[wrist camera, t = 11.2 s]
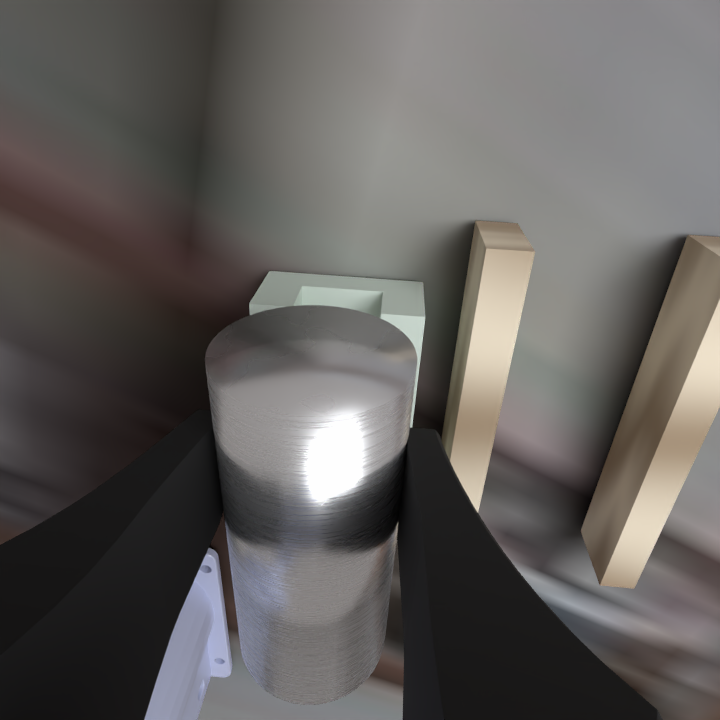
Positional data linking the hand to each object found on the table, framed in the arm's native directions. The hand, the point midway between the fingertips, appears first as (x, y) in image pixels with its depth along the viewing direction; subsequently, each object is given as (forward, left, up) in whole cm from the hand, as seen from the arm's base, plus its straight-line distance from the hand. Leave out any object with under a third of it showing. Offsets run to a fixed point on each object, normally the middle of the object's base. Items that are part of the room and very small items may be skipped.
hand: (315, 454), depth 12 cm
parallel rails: (-2, -7, -6) cm, 10 cm away
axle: (-2, 0, 0) cm, 2 cm away
